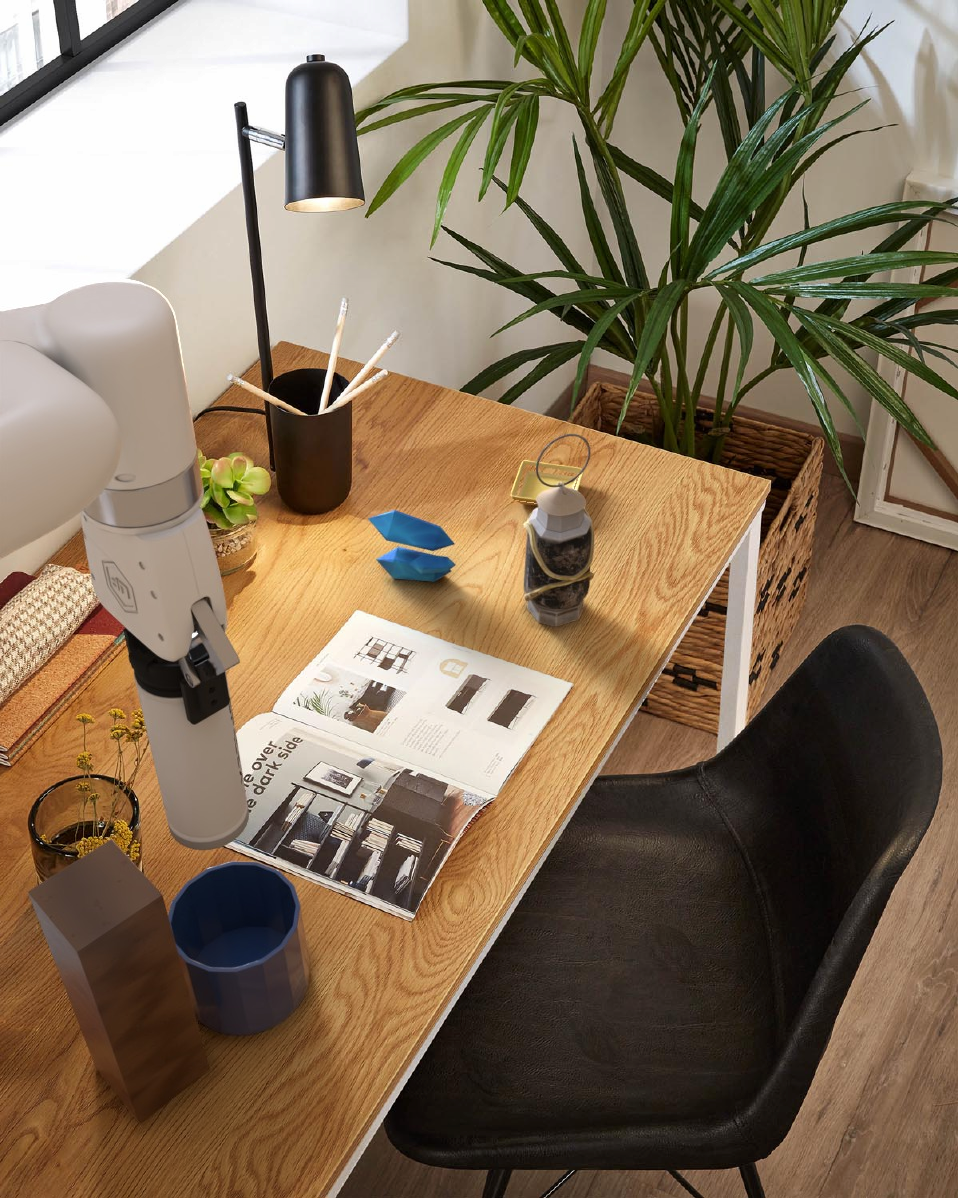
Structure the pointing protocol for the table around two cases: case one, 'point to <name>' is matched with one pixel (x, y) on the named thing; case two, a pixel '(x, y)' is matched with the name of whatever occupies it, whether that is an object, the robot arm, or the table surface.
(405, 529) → the blue crystals
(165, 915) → the plinth
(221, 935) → the crock
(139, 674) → the travel mug
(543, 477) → the yellow basket
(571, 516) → the lantern
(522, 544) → the table surface
